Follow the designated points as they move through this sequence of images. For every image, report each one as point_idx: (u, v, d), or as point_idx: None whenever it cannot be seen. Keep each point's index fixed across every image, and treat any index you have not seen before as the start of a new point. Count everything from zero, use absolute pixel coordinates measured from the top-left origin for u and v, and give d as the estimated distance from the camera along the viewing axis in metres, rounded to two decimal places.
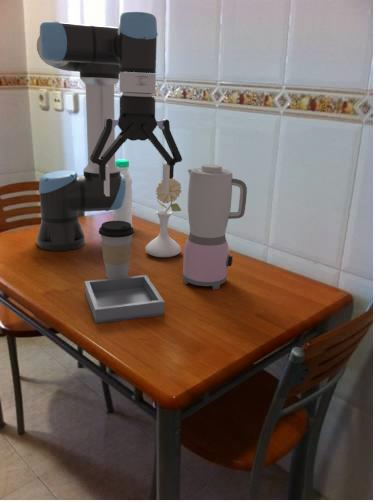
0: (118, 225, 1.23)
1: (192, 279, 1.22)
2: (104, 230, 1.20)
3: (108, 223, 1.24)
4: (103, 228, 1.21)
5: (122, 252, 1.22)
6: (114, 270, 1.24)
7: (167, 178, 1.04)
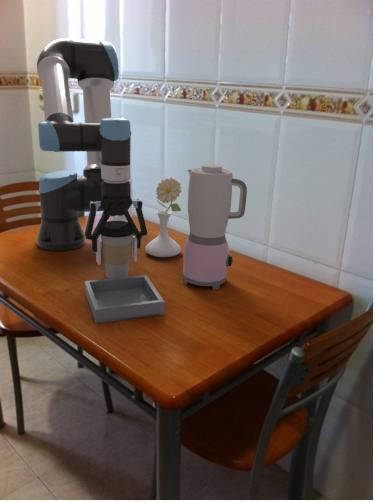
0: (118, 225, 1.23)
1: (192, 279, 1.22)
2: (104, 230, 1.20)
3: (108, 223, 1.24)
4: (103, 228, 1.21)
5: (122, 252, 1.22)
6: (114, 270, 1.24)
7: (135, 249, 1.26)
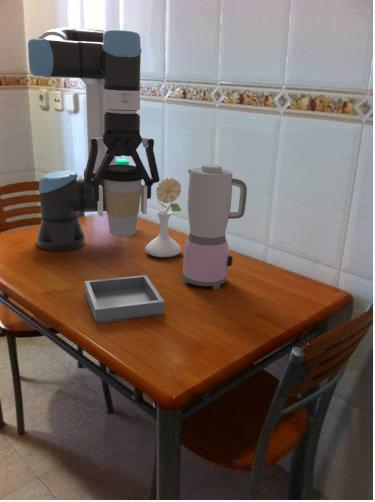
0: (125, 169, 1.01)
1: (192, 279, 1.22)
2: (108, 173, 0.99)
3: (112, 166, 1.02)
4: (106, 171, 0.99)
5: (130, 200, 1.00)
6: (119, 223, 1.02)
7: (145, 198, 1.04)
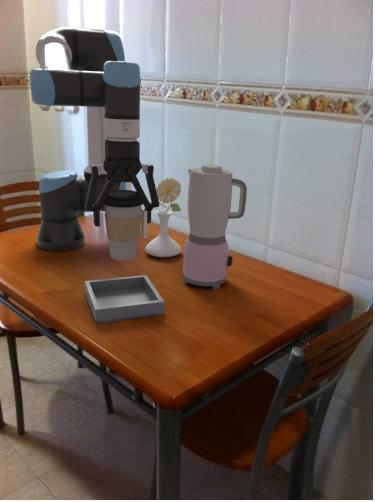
0: (125, 194, 1.03)
1: (192, 279, 1.22)
2: (108, 199, 1.00)
3: (113, 192, 1.04)
4: (107, 197, 1.00)
5: (130, 226, 1.02)
6: (120, 248, 1.04)
7: (145, 223, 1.06)
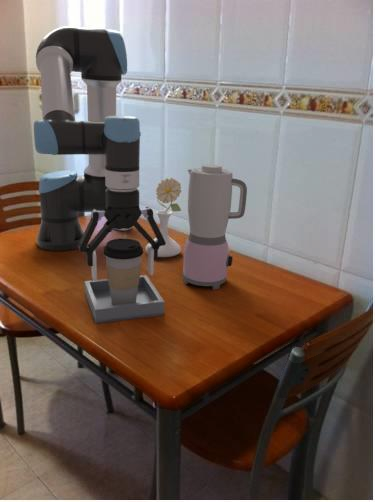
0: (125, 245, 1.07)
1: (192, 279, 1.22)
2: (109, 251, 1.04)
3: (114, 242, 1.08)
4: (108, 248, 1.05)
5: (131, 275, 1.06)
6: (121, 295, 1.08)
7: (151, 261, 1.10)
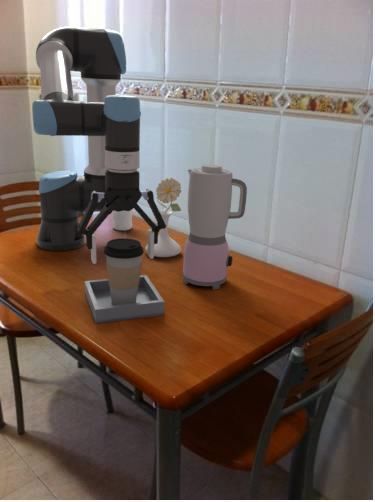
0: (126, 244, 1.07)
1: (192, 279, 1.22)
2: (110, 250, 1.05)
3: (114, 241, 1.08)
4: (109, 248, 1.05)
5: (131, 275, 1.06)
6: (121, 295, 1.08)
7: (152, 244, 1.08)
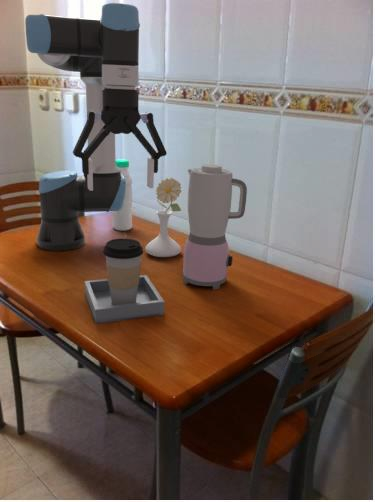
0: (125, 244, 1.07)
1: (192, 279, 1.22)
2: (109, 250, 1.04)
3: (113, 242, 1.08)
4: (108, 248, 1.05)
5: (130, 275, 1.06)
6: (121, 295, 1.08)
7: (151, 172, 1.03)
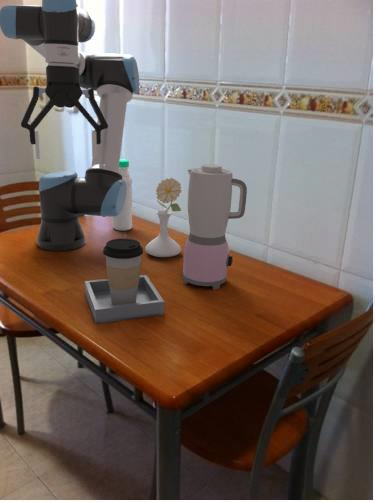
0: (125, 244, 1.07)
1: (192, 279, 1.22)
2: (109, 250, 1.04)
3: (114, 242, 1.08)
4: (108, 248, 1.05)
5: (131, 275, 1.06)
6: (121, 295, 1.08)
7: (94, 143, 1.13)
